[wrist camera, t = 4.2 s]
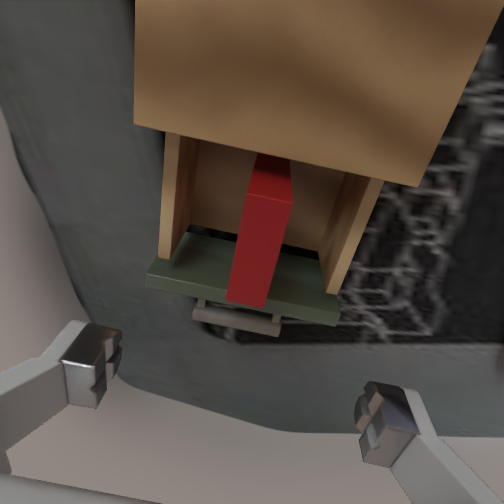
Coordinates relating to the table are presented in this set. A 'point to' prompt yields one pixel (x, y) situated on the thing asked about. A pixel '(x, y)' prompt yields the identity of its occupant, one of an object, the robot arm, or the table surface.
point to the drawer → (228, 219)
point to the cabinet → (311, 76)
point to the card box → (261, 230)
